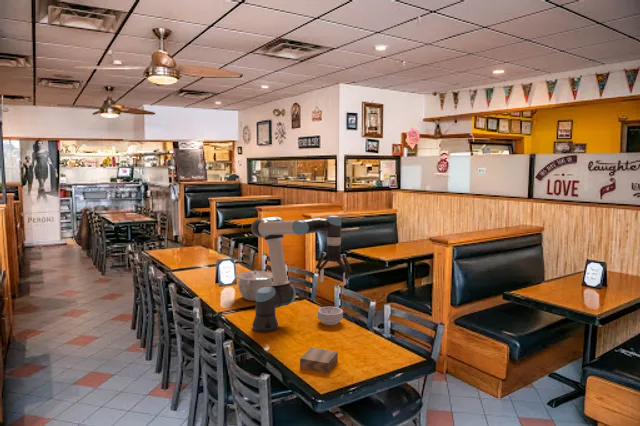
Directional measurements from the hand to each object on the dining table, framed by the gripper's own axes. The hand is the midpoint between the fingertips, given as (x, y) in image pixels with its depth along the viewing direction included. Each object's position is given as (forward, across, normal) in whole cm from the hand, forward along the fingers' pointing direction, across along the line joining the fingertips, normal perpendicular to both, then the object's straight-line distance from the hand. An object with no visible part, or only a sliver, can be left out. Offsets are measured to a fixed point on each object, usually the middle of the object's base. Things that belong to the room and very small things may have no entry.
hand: (333, 283), depth 247 cm
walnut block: (+32, +7, -32) cm, 46 cm away
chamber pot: (+32, -81, +46) cm, 98 cm away
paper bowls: (+32, -12, +24) cm, 42 cm away
